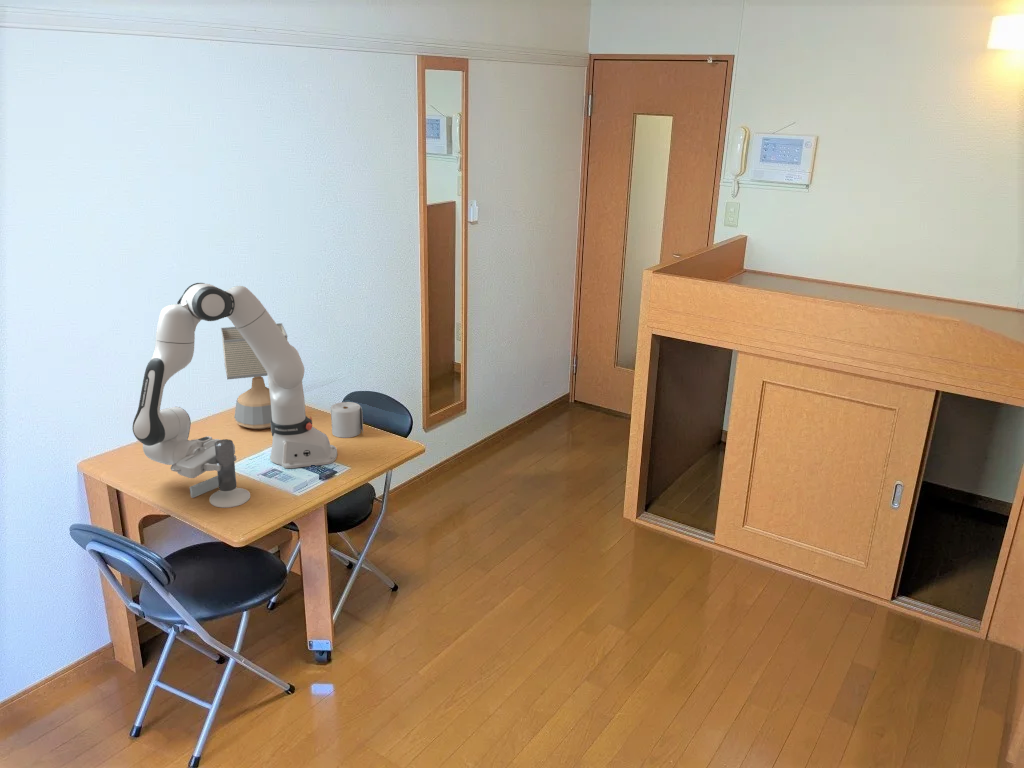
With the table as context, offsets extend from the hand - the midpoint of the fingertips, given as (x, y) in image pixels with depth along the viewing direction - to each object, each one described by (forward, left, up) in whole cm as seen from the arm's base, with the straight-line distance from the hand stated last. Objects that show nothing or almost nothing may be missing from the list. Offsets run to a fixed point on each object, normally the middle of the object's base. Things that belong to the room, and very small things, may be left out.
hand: (228, 463), depth 254 cm
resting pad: (+1, 0, -12) cm, 12 cm away
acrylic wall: (+8, -7, -12) cm, 16 cm away
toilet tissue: (-32, -50, -12) cm, 60 cm away
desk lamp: (+1, -60, -12) cm, 62 cm away
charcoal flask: (+1, 0, -8) cm, 8 cm away
